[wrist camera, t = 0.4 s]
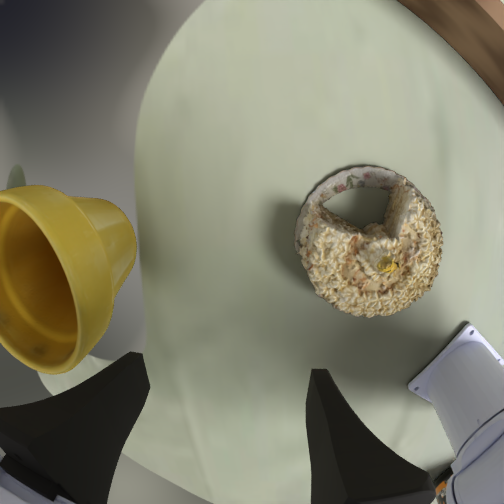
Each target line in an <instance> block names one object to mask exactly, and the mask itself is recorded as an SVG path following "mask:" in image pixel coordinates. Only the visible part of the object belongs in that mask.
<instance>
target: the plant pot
mask: <svg viewBox="0 0 504 504" xmlns="http://www.w3.org/2000/svg"><path fill="white" fill-rule="evenodd" d="M136 251H137V243H136V237H135V233H134V230H133V227H132V225H131V223H130V221H129V220H128V218H127V217H126V215H125V214H124V213H123V212H122V211H121V209H120V208H118V207H117V206H116V205H114V204H113V203H111V202H109V201H107V200H103V199H98V198H85V197H72V196H67V195H65V194H64V193H62V192H60V191H58V190H56V189H54V188H51V187H48V186H43V185H31V186H22V187H16V188H11V189H7V190H3V191H0V343H1V344H2V345H3V346H4V347H5V348H6V349H7V350H8V351H9V352H10V353H11V354H12V355H13V356H14V357H16V358H17V359H18V360H19V361H21V362H22V363H24V364H25V365H27V366H28V367H30V368H32V369H34V370H36V371H39V372H42V373H46V374H62V373H66V372H68V371H70V370H72V369H73V368H74V367H75V366H77V365H78V364H79V363H80V362H81V361H82V359H83V358H84V357H85V356H86V355H87V354H88V353H89V352H90V351H91V349H92V348H93V347H94V346H95V345H96V343H97V342H98V341H99V340H100V338H101V337H102V336H103V334H104V333H105V331H106V330H107V328H108V326H109V323H110V320H111V317H112V312H113V307H114V298H115V296H116V295H117V293H118V291H119V289H120V287H121V286H122V284H123V282H124V281H125V279H126V278H127V276H128V275H129V273H130V271H131V269H132V268H133V265H134V262H135V258H136Z"/></svg>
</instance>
